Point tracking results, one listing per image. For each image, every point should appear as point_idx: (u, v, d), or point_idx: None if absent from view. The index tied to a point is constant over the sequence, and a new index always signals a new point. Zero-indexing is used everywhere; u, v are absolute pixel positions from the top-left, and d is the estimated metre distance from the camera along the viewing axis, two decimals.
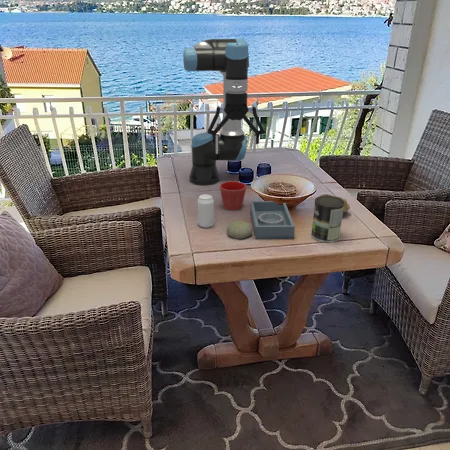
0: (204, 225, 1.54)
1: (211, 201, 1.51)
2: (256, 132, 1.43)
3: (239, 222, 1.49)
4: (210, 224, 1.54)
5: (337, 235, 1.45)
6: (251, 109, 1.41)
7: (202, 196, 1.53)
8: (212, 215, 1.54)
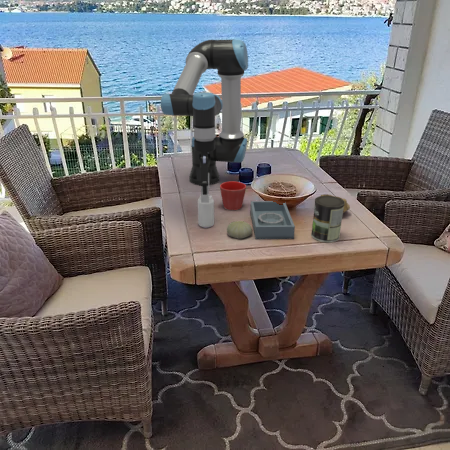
0: (204, 225, 1.54)
1: (211, 201, 1.51)
2: (201, 182, 1.42)
3: (239, 222, 1.49)
4: (210, 224, 1.54)
5: (337, 235, 1.45)
6: None
7: None
8: (212, 215, 1.54)
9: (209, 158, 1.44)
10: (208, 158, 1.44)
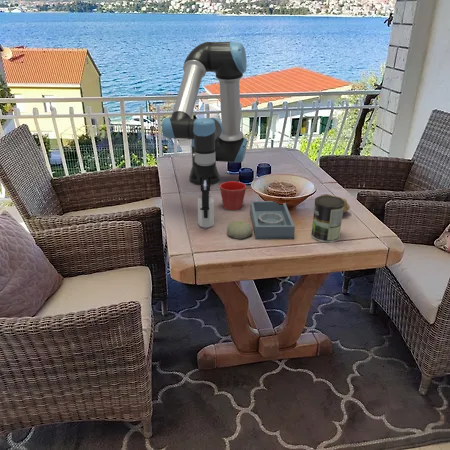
0: (204, 225, 1.54)
1: (211, 201, 1.51)
2: None
3: (239, 222, 1.49)
4: (210, 224, 1.54)
5: (337, 235, 1.45)
6: None
7: None
8: (212, 215, 1.54)
9: (209, 182, 1.48)
10: (208, 182, 1.48)
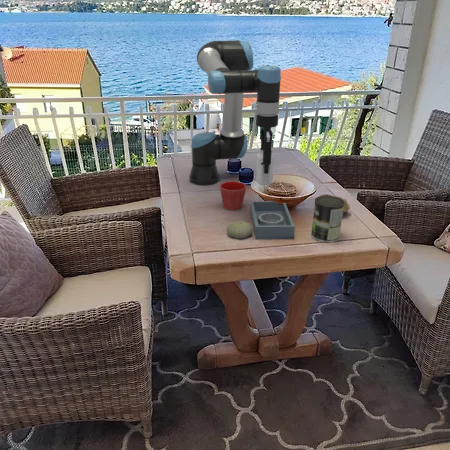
0: (263, 182, 1.47)
1: (272, 156, 1.44)
2: (263, 160, 1.42)
3: (239, 222, 1.49)
4: (269, 181, 1.47)
5: (337, 235, 1.45)
6: None
7: (262, 151, 1.46)
8: (272, 171, 1.46)
9: (271, 135, 1.40)
10: (270, 135, 1.40)
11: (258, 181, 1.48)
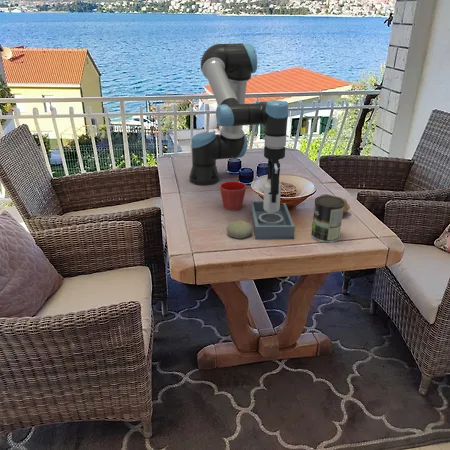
0: (270, 210, 1.52)
1: (279, 185, 1.49)
2: None
3: (239, 222, 1.49)
4: (276, 209, 1.52)
5: (337, 235, 1.45)
6: None
7: (269, 181, 1.51)
8: (279, 200, 1.51)
9: (279, 166, 1.46)
10: (278, 166, 1.46)
11: (265, 209, 1.53)
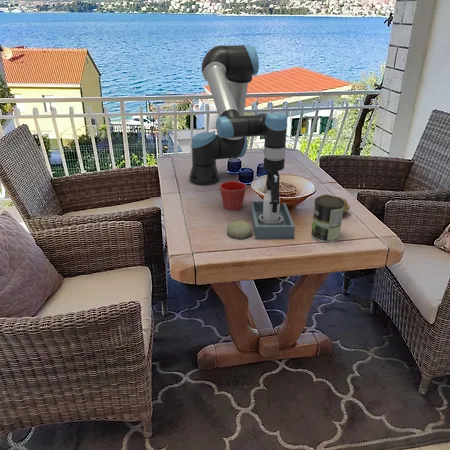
0: None
1: None
2: (271, 200, 1.46)
3: (239, 222, 1.49)
4: (275, 221, 1.54)
5: (337, 235, 1.45)
6: None
7: (268, 193, 1.53)
8: (278, 212, 1.54)
9: (278, 176, 1.47)
10: None
11: None
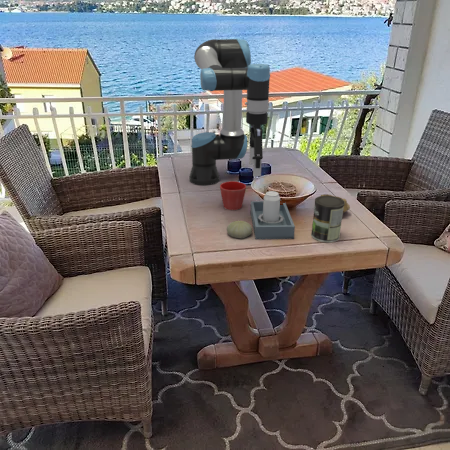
0: None
1: (278, 198, 1.51)
2: (254, 155, 1.41)
3: (239, 222, 1.49)
4: (276, 221, 1.54)
5: (337, 235, 1.45)
6: None
7: (268, 193, 1.53)
8: (278, 212, 1.54)
9: (261, 131, 1.43)
10: None
11: None
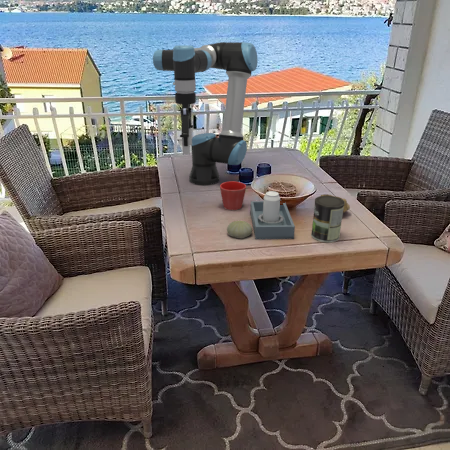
0: None
1: (278, 198, 1.51)
2: None
3: (239, 222, 1.49)
4: (276, 221, 1.54)
5: (337, 235, 1.45)
6: None
7: (268, 193, 1.53)
8: (278, 212, 1.54)
9: (190, 111, 1.48)
10: (189, 111, 1.48)
11: None
